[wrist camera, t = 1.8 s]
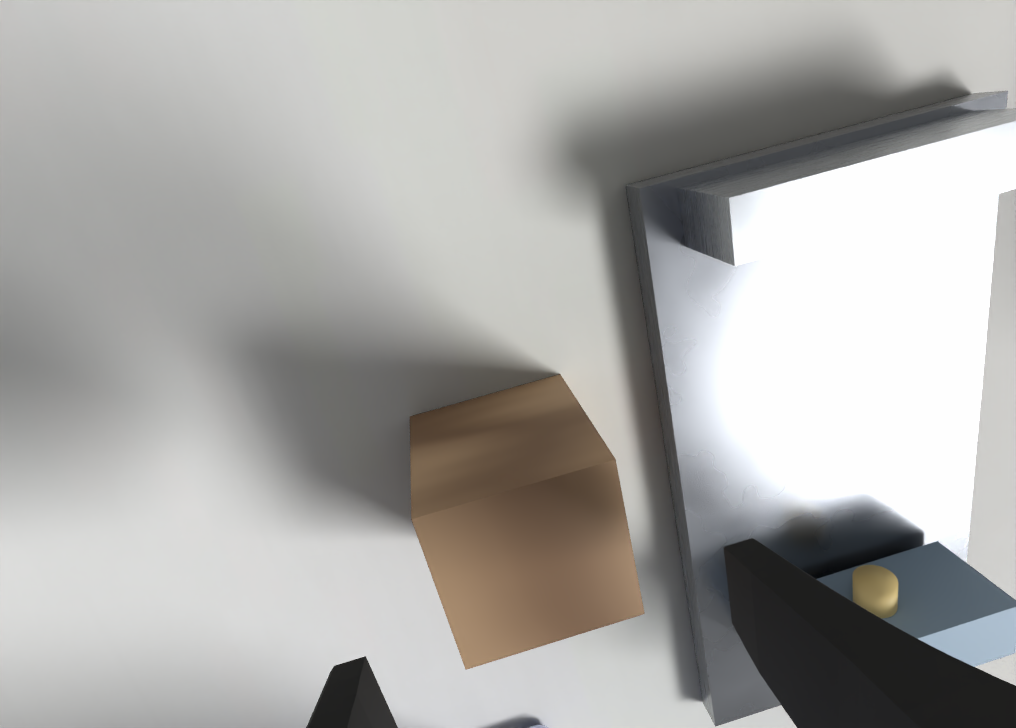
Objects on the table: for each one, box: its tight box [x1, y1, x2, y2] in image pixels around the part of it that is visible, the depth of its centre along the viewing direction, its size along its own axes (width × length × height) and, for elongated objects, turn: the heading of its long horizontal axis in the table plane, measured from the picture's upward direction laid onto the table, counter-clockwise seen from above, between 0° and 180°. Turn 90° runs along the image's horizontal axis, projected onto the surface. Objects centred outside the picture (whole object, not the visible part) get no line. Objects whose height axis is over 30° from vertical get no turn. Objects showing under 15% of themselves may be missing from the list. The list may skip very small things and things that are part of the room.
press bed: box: [626, 91, 1016, 726], centre depth 18 cm, size 20×10×4 cm, turn 13°
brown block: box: [410, 374, 644, 669], centre depth 16 cm, size 4×4×5 cm
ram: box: [817, 541, 1016, 667], centre depth 18 cm, size 6×7×6 cm
